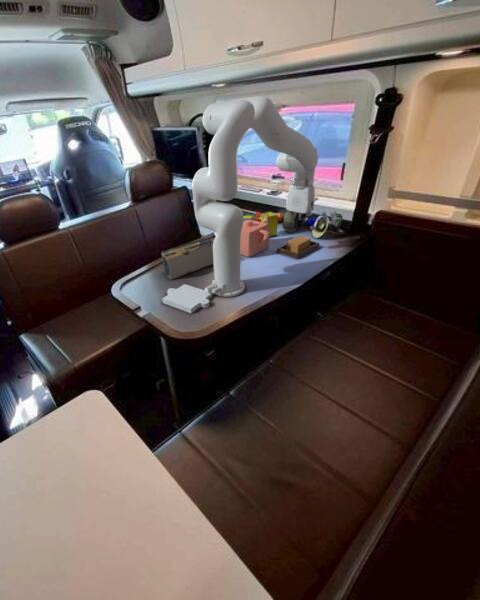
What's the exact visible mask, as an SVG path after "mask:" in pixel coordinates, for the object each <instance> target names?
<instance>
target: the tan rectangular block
mask: <svg viewBox="0 0 480 600" xmlns="http://www.w3.org/2000/svg"><path fill="white" fill-rule="evenodd" d="M311 241H312V238H311V237H306V236H302V235H299V236H297V237H295V238H292V239H290V240H288V241H286V244H287V250H288V251H291V252H294V253H299V252H301V251H303V250H305V249H307V248H309V247H310V242H311Z"/></svg>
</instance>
